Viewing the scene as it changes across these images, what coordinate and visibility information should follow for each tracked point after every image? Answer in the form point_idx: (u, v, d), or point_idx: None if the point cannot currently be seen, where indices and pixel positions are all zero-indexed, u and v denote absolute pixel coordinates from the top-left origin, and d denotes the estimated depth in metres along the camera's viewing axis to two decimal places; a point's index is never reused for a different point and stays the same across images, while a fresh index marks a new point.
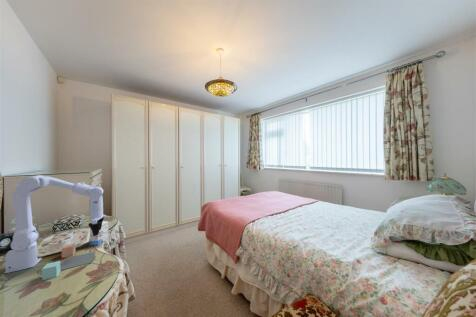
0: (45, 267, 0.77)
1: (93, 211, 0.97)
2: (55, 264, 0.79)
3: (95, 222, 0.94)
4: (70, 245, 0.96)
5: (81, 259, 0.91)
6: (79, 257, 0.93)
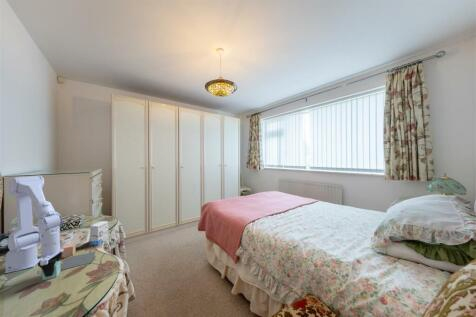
0: None
1: (44, 247, 0.76)
2: (55, 264, 0.79)
3: (45, 263, 0.73)
4: (70, 245, 0.96)
5: (81, 259, 0.91)
6: (79, 257, 0.93)
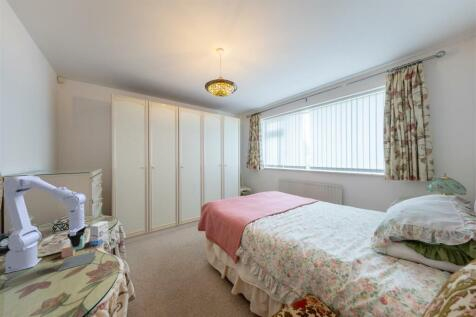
0: None
1: (72, 221, 0.87)
2: (81, 237, 0.90)
3: (73, 234, 0.84)
4: None
5: (81, 259, 0.91)
6: (79, 257, 0.93)
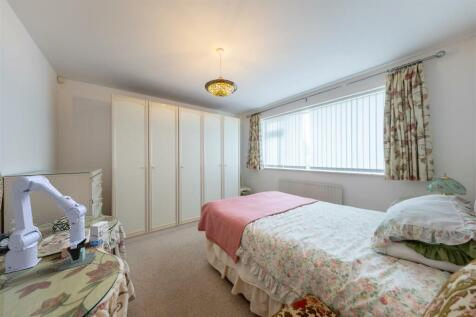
0: None
1: (73, 233, 0.87)
2: (81, 250, 0.90)
3: (74, 246, 0.84)
4: None
5: None
6: None
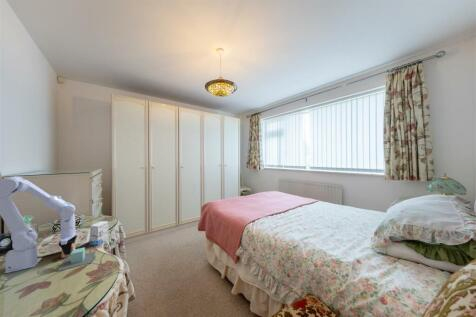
0: (73, 252, 0.88)
1: (63, 230, 0.93)
2: (81, 250, 0.90)
3: (64, 242, 0.90)
4: None
5: None
6: None
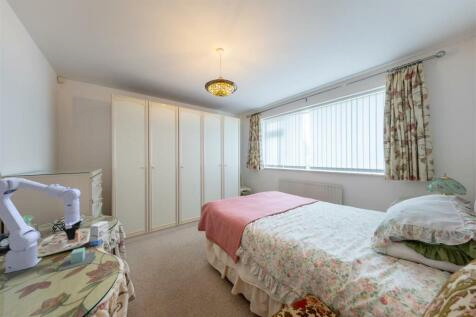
0: (73, 252, 0.88)
1: (68, 215, 0.90)
2: (81, 250, 0.90)
3: (69, 227, 0.87)
4: None
5: None
6: None
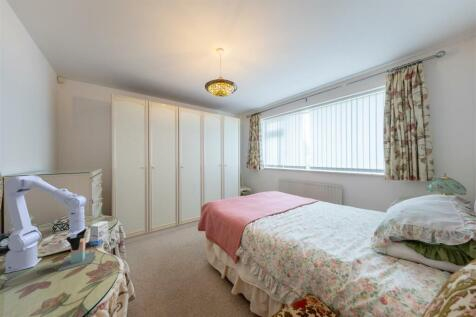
0: None
1: (72, 223, 0.87)
2: None
3: (74, 236, 0.84)
4: (80, 240, 0.90)
5: None
6: None
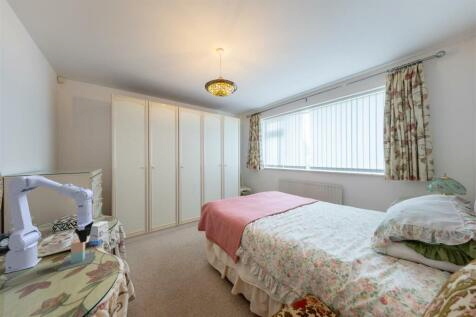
0: None
1: (80, 216, 0.89)
2: None
3: (82, 228, 0.85)
4: None
5: None
6: None
